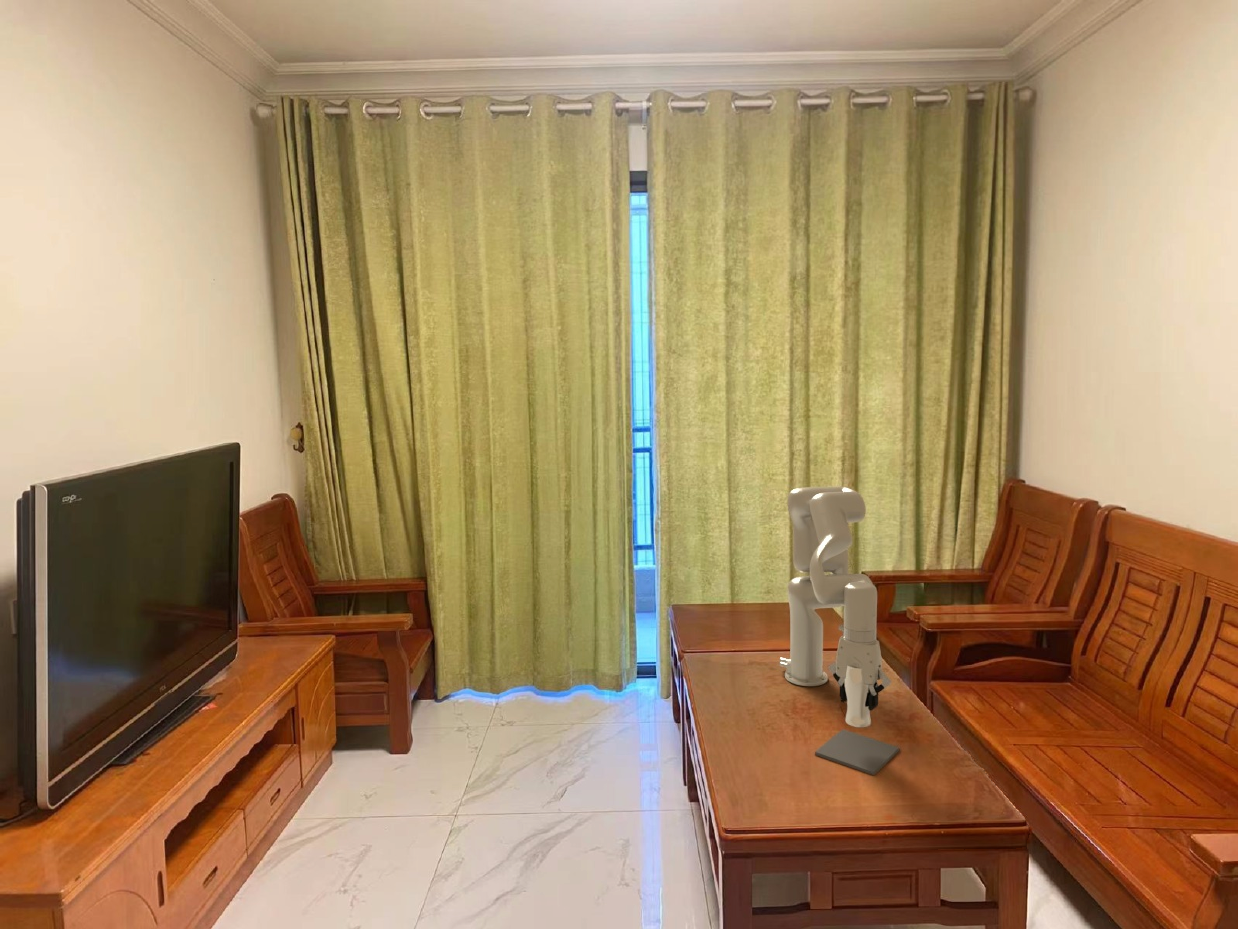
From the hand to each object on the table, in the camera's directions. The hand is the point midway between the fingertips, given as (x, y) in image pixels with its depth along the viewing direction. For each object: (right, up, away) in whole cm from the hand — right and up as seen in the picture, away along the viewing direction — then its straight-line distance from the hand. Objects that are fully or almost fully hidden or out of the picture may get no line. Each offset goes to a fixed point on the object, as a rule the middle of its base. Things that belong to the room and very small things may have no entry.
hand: (858, 704), depth 189 cm
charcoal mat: (0, -13, +2) cm, 13 cm away
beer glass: (0, -5, +1) cm, 5 cm away
